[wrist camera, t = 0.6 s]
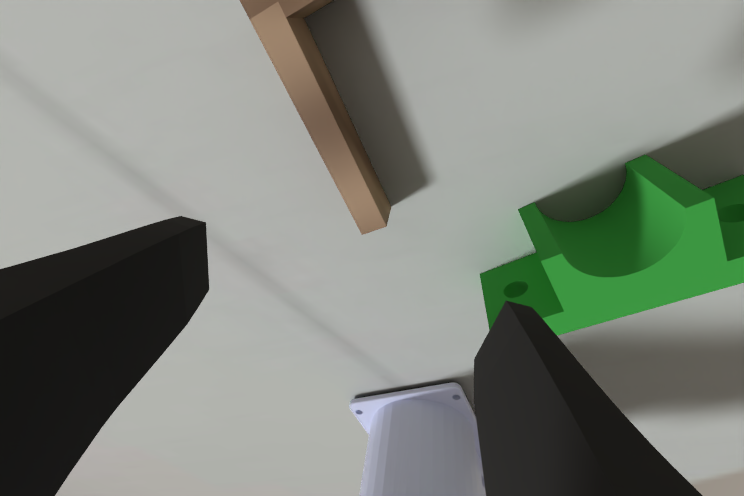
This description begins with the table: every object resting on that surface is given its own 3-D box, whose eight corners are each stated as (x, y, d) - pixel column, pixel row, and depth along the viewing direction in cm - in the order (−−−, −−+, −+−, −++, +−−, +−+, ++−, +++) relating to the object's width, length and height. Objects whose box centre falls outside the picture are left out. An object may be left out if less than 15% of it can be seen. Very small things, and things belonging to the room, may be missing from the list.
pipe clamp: (730, 114, 14) (847, 148, 10) (743, 194, 15) (851, 252, 11) (456, 234, 18) (463, 291, 14) (487, 288, 19) (501, 354, 16)
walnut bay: (901, 25, 12) (980, 25, 10) (368, 214, 18) (361, 234, 16) (997, -476, 7) (1158, -619, 6) (261, 0, 14) (238, -3, 12)
